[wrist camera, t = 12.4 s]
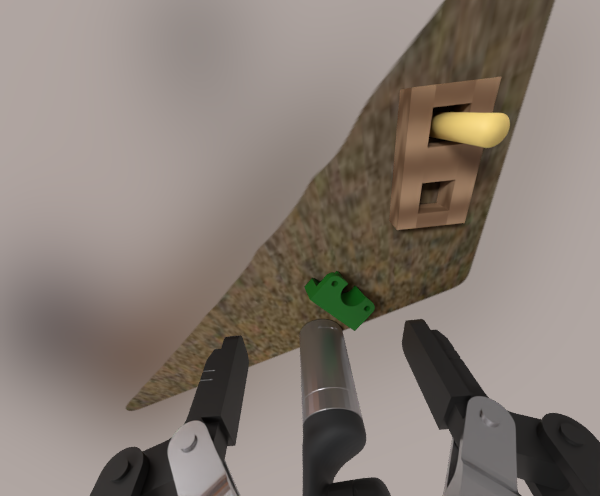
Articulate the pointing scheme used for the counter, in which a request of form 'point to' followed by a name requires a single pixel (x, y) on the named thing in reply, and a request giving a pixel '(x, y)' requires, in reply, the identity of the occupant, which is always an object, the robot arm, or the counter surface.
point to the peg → (470, 127)
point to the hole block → (436, 154)
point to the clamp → (340, 300)
